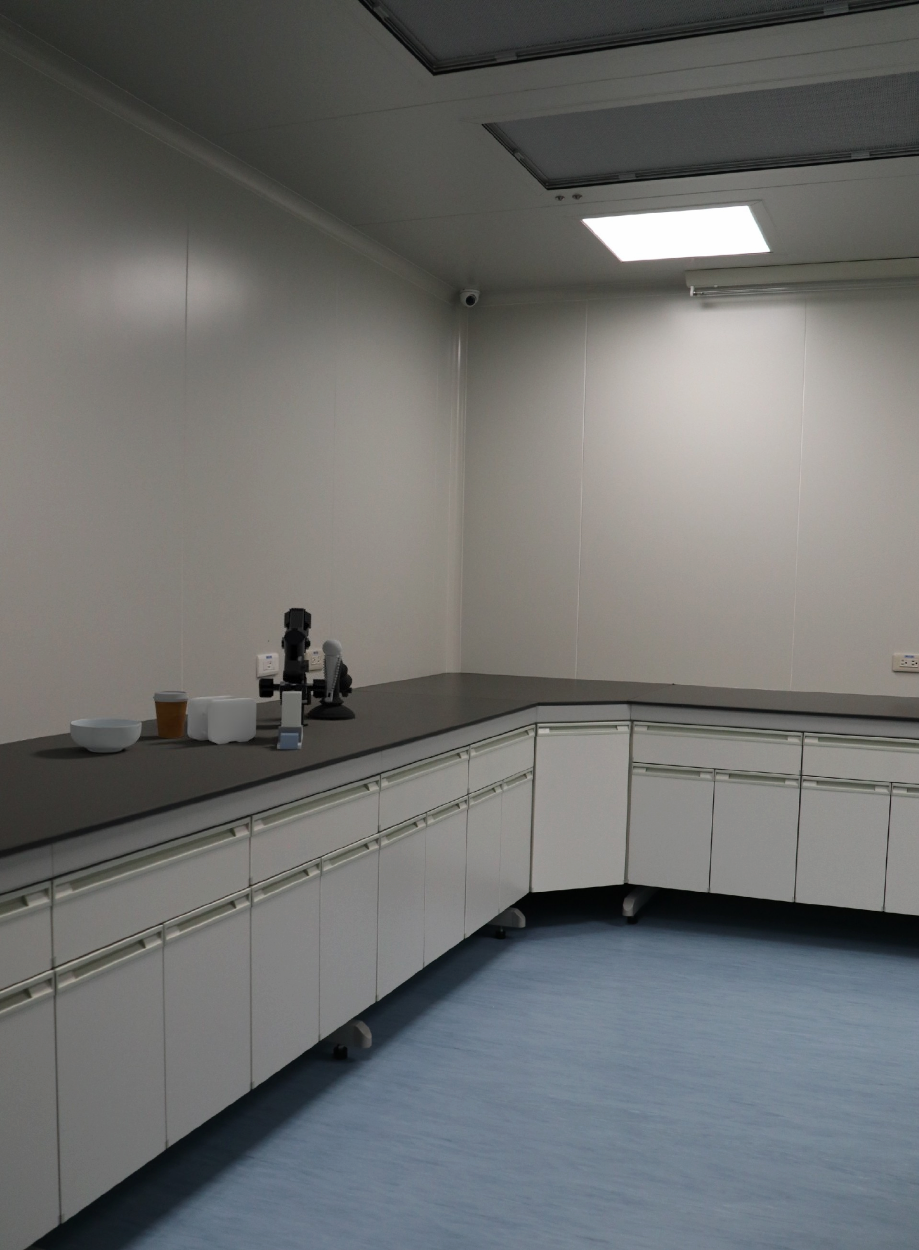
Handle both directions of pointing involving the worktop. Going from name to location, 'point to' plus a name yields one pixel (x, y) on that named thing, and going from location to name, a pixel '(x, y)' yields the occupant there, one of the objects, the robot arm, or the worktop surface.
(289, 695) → the grey rectangular box
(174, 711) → the disposable coffee cup
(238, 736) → the cable organizer
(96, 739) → the cereal bowl
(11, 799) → the worktop surface
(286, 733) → the cord rail
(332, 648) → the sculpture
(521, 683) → the worktop surface
